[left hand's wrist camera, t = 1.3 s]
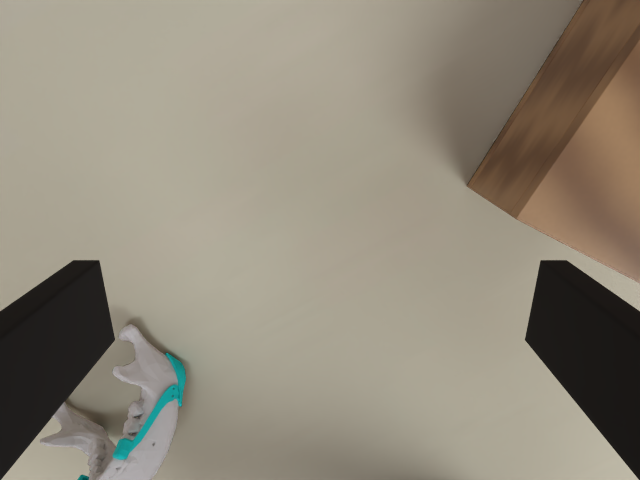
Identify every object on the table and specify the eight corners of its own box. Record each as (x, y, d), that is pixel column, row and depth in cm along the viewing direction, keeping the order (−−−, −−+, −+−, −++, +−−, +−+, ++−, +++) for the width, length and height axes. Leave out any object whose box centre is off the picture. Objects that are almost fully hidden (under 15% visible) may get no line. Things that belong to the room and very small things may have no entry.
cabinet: (621, -60, 30) (752, -125, 21) (730, 14, 31) (896, -16, 22) (466, 186, 36) (515, 218, 27) (565, 237, 37) (642, 284, 28)
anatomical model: (99, 539, 38) (-13, 505, 34) (129, 440, 47) (43, 404, 43) (203, 448, 35) (91, 397, 31) (213, 359, 44) (128, 311, 40)
